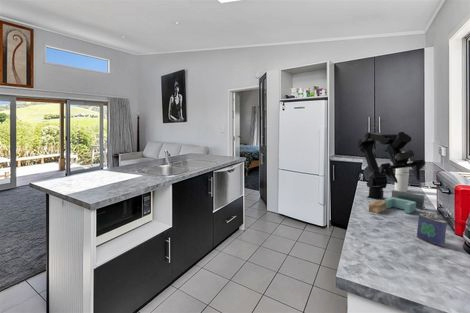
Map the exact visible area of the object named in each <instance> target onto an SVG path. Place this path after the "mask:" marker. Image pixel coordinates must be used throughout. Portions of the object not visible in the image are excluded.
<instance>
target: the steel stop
mask: <svg viewBox="0 0 470 313" xmlns="http://www.w3.org/2000/svg"><path fill="white" fill-rule="evenodd" d="M391 197H394V198H399V199H404V200H409V201H414V202H416V210H420V211H422V210H425V209H426V206H425V195H423V194H418V193H411V192H408V191H407V192H402V191H396V190H394V189H393V190H391Z"/></svg>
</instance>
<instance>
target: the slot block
mask: <svg viewBox="0 0 470 313" xmlns="http://www.w3.org/2000/svg"><path fill="white" fill-rule="evenodd" d="M383 200H384V202H386V209H390V208H395V209H396V208H397V209H401V210H404V213H406V214H411V213H414V212H415V211H416V210H417V209H416V202H414V201H409V200H404V199H399V198H394V197H392V196H390V197H387V198H385V199H384V198H383Z"/></svg>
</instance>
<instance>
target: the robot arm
mask: <svg viewBox="0 0 470 313" xmlns="http://www.w3.org/2000/svg"><path fill="white" fill-rule="evenodd" d="M411 141H412V137H411V136H410V135H409V134H407V133H405V132H404V131H399V132H398V133H397V134H396V133H383V134H382V133H379V132H378V133H377V132H371V131H370V132H369V131H367V132H366V133H365V135H364V136H362V137H360V138H359V140H358V141H357V145H356V146H357V147H358V149H359V151H360V152H362V154H364V157H365V160H366V164H367V167H368V169H369V172H370V174H369V177H368V180H367V182H366V187H367V188H368V189H369V190H368V196H367V198H369V199H375V200H379V201H380V200H381V199H384V198H385V197H384V195H385V194H384V193H385V191H384V189H386V188H387V185H388V182H389V181H388V178H390V179H391V180H392V181H393V182H394V183H395V182H396V183H398V181H397V179H396V177H395V173H394V169H395V170H396V169H397V168H406V167H409V168H411V170H412V172H413V174H414V176H415V179H416V180H417V181H418V182H419V181H420V180H421V176H420V175H421V174H420V171H421V169H423V167H424V166H425V165H426V161H425V159H423V158H419V159H418V158H415V159H413V160H412V162H410V163H407V162H408V161H409V159H410V160H411V158H414V156H415V152H414V151H413V150H412V149H410V150H407V151H402V150H403V149H405V148H406V147H407V145H408V144H410V143H411ZM376 142H379V144H381V145H382V146H386V147H385V149H384V152H385V153H388V156H389V158H390V162H392V165H391V163H390V162H387V163H386V162H385V163H384V162H383V163H381V164H380V166H379V165H378V162H377V159H376V156H375V154H374V152H373V151H374V150H373V149H374V148H375V146H374V145H375V144H376Z"/></svg>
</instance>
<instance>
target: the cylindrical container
mask: <svg viewBox="0 0 470 313" xmlns="http://www.w3.org/2000/svg"><path fill="white" fill-rule="evenodd" d="M407 163H411V158H410V159H409V161H408V162H407ZM409 174H410V167H406V168H397V169H395V173H394V175H395V177H396V179H397V181H398V183H396V182H394V189H393V190H396V191H402V192H407V193H408V189H409V177H410V176H409Z"/></svg>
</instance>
